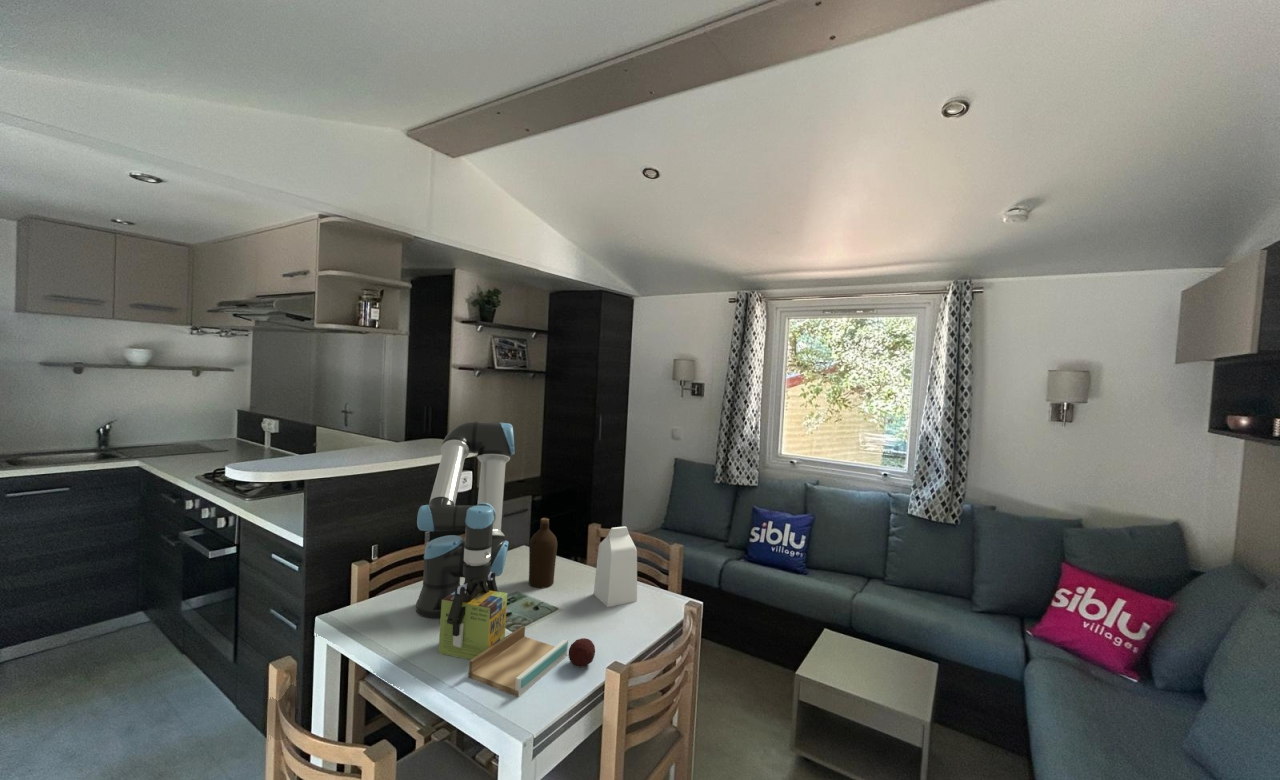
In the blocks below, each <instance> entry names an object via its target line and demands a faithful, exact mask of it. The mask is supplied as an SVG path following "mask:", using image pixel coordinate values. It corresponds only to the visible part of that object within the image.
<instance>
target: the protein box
mask: <svg viewBox="0 0 1280 780" xmlns="http://www.w3.org/2000/svg"><path fill="white" fill-rule="evenodd" d="M466 595H468V596H470V595H469V594H468V593H467V594H466ZM454 596H455V591H454V592H453V593H451V594H450V595H448V596H447V597H445V598H444V599H442V604H441V618H440V622H439V623H440V624H439V625H440V626H439V635H438V636H439V640H438V652H437V653H438V654H440V655H445V656H451V657H455V658H461V659H466V660H469V661H470V660H472V659H473V658H475V657H476V656H478V655H479V654H481V653H482V652H484V651H485V650H487V649H488V648H490V647H491V646H493V645H494V644H496V643H497V642H499V641H500V640H502V639H503V638H505V637H506V622H507V621H506V620H507V603H508V592H503V591H502V592H501V591H498V592H496V591H490V590H489V592H487V593H484V592H481V593H478V594H477V595H475V596H474V599H473V600H471V601H470V602H468V603H465V602H463V603H462V606H461V607H464V606H466V608H465V615H464V618H463V620H462V622H461V623H464V625H463V643H462V647H461V648H459V647H457V646H454V645H453V634H452V632H453V625H452V624H449V623H447V619H448V616H449V612H450V609H451V606H452V603H453V599H454Z"/></svg>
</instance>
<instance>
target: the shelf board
mask: <svg viewBox="0 0 1280 780" xmlns="http://www.w3.org/2000/svg"><path fill="white" fill-rule="evenodd" d="M555 646H556V645H551V644H549V643H545V642H543V641H539V640H537V639H536V640H535V639H533V638H530V637H527V636H525V637H523V638H522V639H520V640H519V641H517V642H516V643H515V644H513V645H512V646H510V647H509V648H507V649H506V650H505V651H503V652H502V653H500V654H499V655H497V656H496V657H494V658H493V659H492V660H490V661H489V662H487V663H486V664H484V665H483V666H482V667H480V668H479V669H477V670H476V671H474V672H473V673H472V675H471V673H470V672H469V671H468V676H467V678H468V679H470V678H471V677H472V678H471V680H473V681H475V682H478V683H481V684H483V685H487V686H489V687H491V688H494V689H497V690H499V691H501V692H503V693H506V694H508V695H511V696H515V695H517V694H516V692H517V693H518V695H517V696H515V697H518V696H519V692H518V691H517V690H515V685H516V677H518V676H519V675H520V674H521V673H523V672H524V671H525V670H526V669H528V668H529V667H530V666H531V665H533V664H534V663H535V662H536V661H538V660H539V659H540V658H542V657H543V656H544V655H545V654H547V653H548V652H549V651H550V650H552V649H553V648H554V647H555ZM469 673H470V674H469ZM469 677H470V678H469ZM515 691H516V692H515ZM518 698H519V697H518Z"/></svg>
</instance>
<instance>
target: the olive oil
mask: <svg viewBox="0 0 1280 780" xmlns="http://www.w3.org/2000/svg"><path fill="white" fill-rule="evenodd" d="M528 545H529V548H528V549H529V552H528V553H529V554H528V555H529V556H528V557H529V559H528V566H529V567H528V585H529V586H530V587H532V588H536V589H537V588H538V589H545V588H549V587H551V586H553V585H554V582H555V572H556V571H555V570H556V569H555V568H556V559H557V552H558V540H557V536H556V535H555V534H554V533H553V531H552V530H550V519H549V518H548V517H542V518H540V522H539V529H538V530H537V531H536V532H534V534H533V535H532V536H531V538H530V540H529V544H528Z"/></svg>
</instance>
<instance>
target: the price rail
mask: <svg viewBox="0 0 1280 780" xmlns="http://www.w3.org/2000/svg"><path fill="white" fill-rule="evenodd" d="M554 646H555V647H554V648H553V649H552V650H550V651H549V652H548V653H547V654H545V655H544V656H543V657H542V658H540V659H539V660H538V661H536V662H535V663H534V664H533V665H531V666H530V667H529V668H528V669H526V670H525V671H524V672H523V673H521V674H520V675H519V676H518V677H516V685H515V690H517V691H518V692H519V696H518V698H520V697H521V696H522V695H523V694H525V693H526V692H527V691H528V690H529V689H530V688H532V686H534V685H535V684H536V683H537V682H539V681H540V680H541V679H542V678H544V676H545V675H547V674H548V673H549V672H550V671H551V670H552V669H554V668H555V667H556V666H557V665H559V663H560V662H562V661H563V660H564V659H565V658H566V657H568V651H569V649H568V648H569V640H568V639H566V638H564V639H563V640H562V641H560V642H559V643H558V644H556V645H554ZM515 692H516V691H515ZM516 694H517V695H518V693H517V692H516ZM517 695H515V697H517Z"/></svg>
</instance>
